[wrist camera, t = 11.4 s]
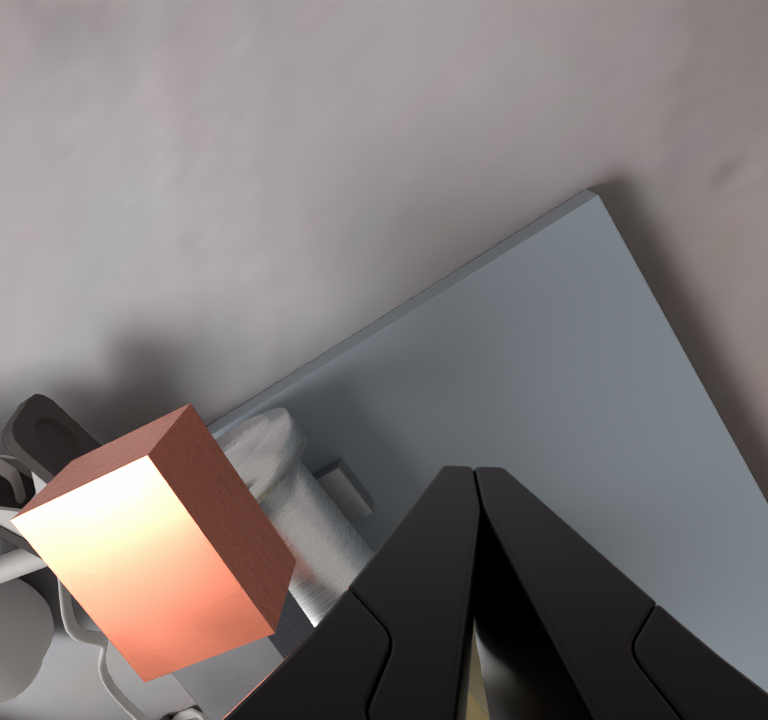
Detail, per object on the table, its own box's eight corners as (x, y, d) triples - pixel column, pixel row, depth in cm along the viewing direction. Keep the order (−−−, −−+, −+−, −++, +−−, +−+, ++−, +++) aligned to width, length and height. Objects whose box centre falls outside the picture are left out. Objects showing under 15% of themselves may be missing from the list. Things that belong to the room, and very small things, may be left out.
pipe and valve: (627, 793, 26) (689, 1004, 20) (499, 839, 28) (519, 1049, 22) (312, 372, 20) (260, 485, 14) (172, 459, 22) (70, 595, 16)
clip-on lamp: (304, 648, 31) (81, 352, 22) (304, 792, 25) (7, 479, 16) (86, 721, 32) (-214, 470, 23) (42, 874, 26) (-376, 626, 17)
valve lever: (493, 852, 18) (501, 948, 16) (390, 878, 18) (385, 974, 16) (190, 403, 13) (147, 455, 11) (71, 461, 14) (10, 520, 12)
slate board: (852, 670, 25) (877, 703, 24) (458, 818, 30) (460, 853, 28) (586, 188, 19) (598, 194, 18) (147, 463, 24) (130, 485, 22)
